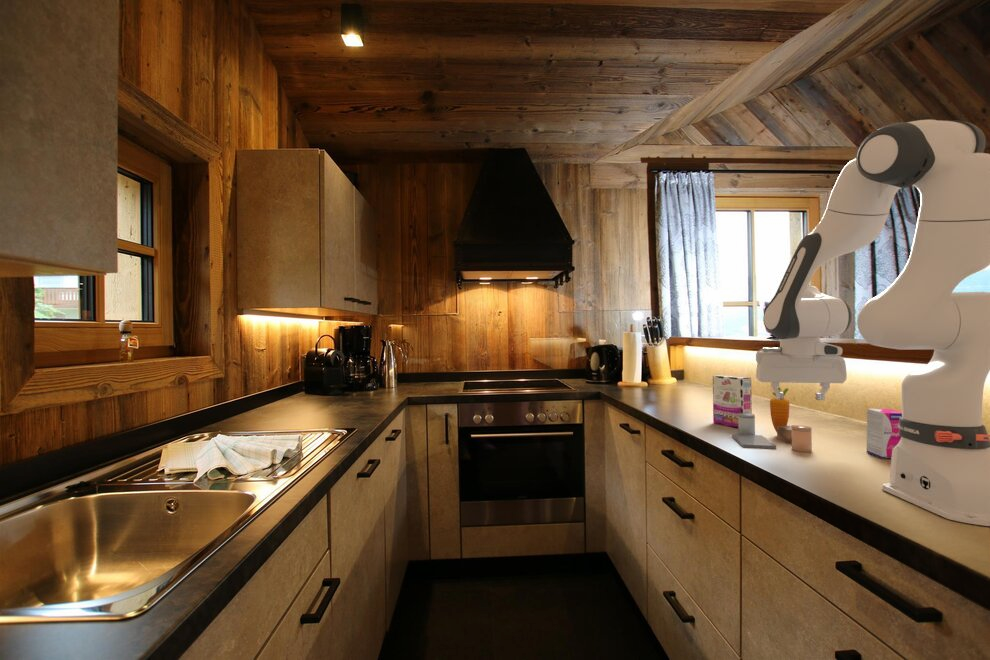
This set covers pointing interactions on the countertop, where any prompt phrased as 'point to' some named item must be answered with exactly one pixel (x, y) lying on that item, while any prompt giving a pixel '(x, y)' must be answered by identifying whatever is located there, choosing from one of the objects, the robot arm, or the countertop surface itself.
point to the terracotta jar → (801, 438)
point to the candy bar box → (730, 399)
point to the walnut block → (784, 434)
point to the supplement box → (882, 431)
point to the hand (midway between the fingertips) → (799, 399)
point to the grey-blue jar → (746, 424)
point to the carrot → (779, 410)
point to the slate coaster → (753, 441)
